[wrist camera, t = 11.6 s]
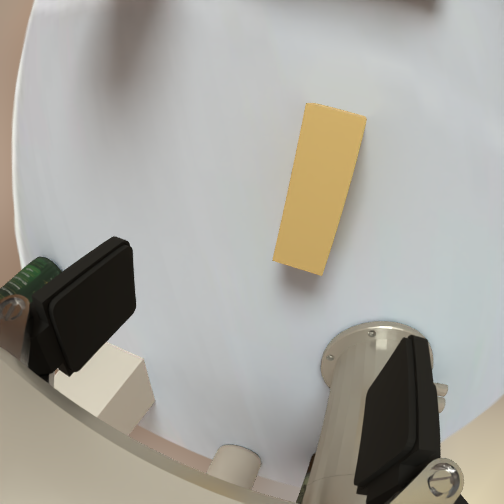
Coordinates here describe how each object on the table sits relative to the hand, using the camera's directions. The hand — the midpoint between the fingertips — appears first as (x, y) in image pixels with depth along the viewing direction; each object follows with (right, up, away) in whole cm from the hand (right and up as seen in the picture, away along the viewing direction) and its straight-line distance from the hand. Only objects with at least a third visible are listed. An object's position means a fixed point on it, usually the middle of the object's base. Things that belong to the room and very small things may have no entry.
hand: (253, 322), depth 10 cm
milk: (-23, -18, +40) cm, 49 cm away
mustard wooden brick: (+6, +8, +15) cm, 18 cm away
